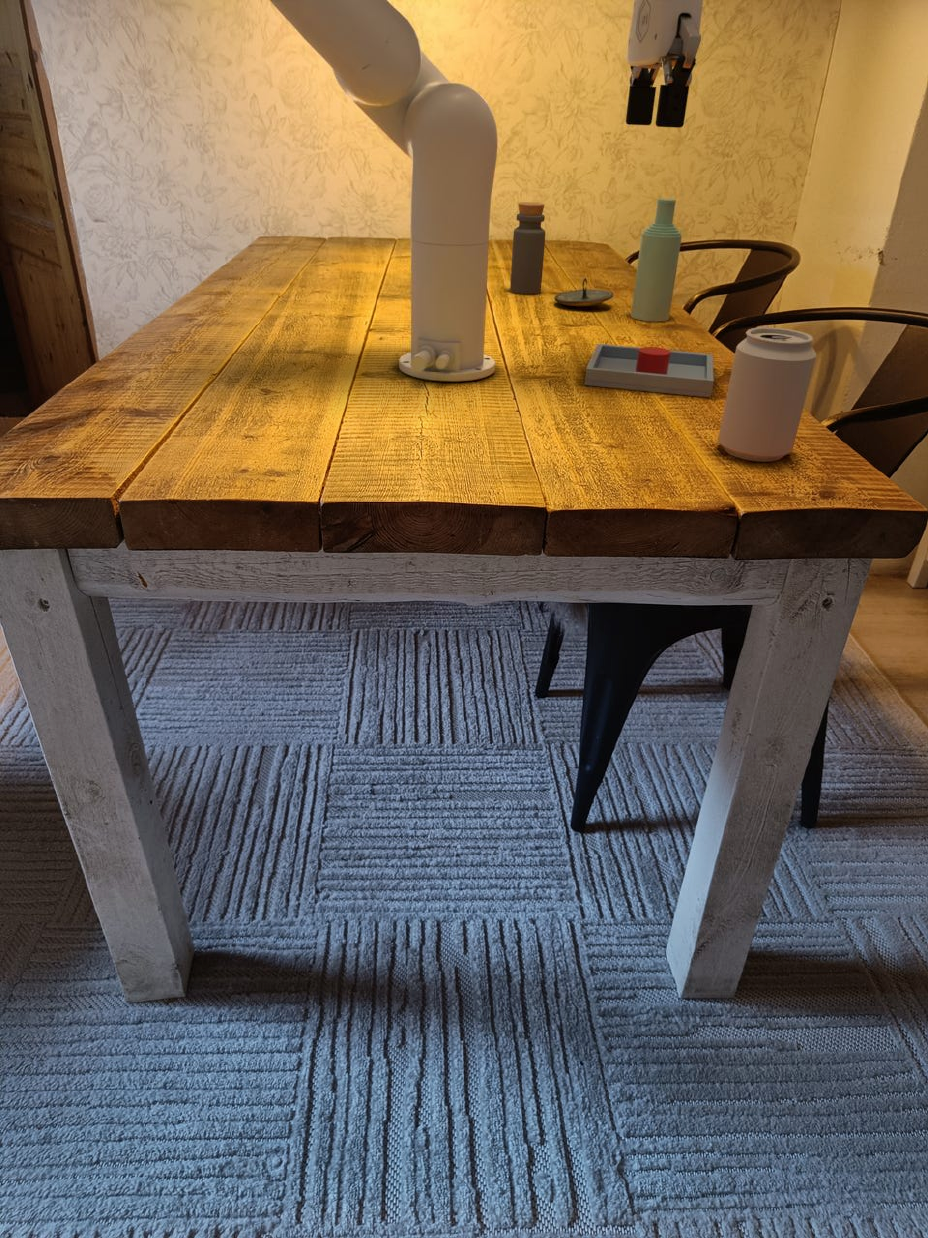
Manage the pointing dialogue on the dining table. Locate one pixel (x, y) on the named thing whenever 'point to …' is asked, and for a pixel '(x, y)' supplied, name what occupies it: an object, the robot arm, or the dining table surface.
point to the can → (766, 393)
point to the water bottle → (657, 266)
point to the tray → (682, 376)
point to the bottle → (528, 250)
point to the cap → (653, 360)
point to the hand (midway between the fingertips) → (653, 125)
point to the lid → (583, 297)
